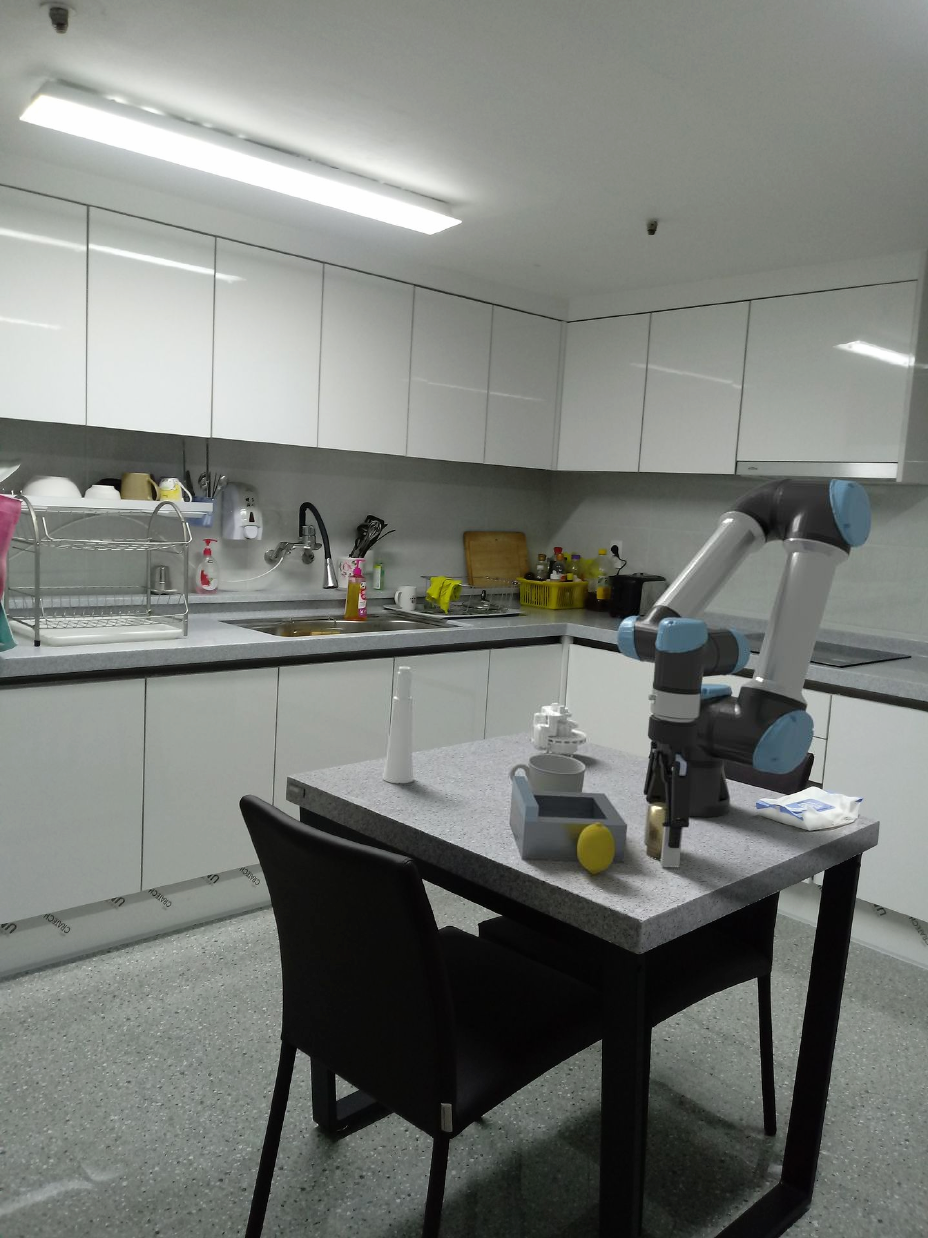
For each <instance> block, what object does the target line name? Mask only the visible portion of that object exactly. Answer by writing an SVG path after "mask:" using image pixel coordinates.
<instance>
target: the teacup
mask: <svg viewBox="0 0 928 1238" xmlns="http://www.w3.org/2000/svg"><path fill="white" fill-rule="evenodd" d="M586 768H587V767H586V764H584V763H583V762H582V761H580V760H579V759H576V758H574V757H573V758H570V756H567V755H562V754H560V755H558V754H555V753H554V754H552V753H549V754H546V753H545V754H544V753H542V754H535V755H531V756H530V757H528V759H527V764H526V763H524V762H520V761H519V762H515V763H514V764H512V765H511V767H510V769H509V772H508V773H509V774H508V775H509V779H510V780H511V782H513V776H516V771H517V770H518V769H522V770H523V771H524V773H525V774H524V776H525V778H526V780H527V783H528V785H529V787H530V789H531V790H534V791H557V792H580V793H583V787H584V779H585V773H586Z"/></svg>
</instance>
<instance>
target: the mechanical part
mask: <svg viewBox="0 0 928 1238" xmlns="http://www.w3.org/2000/svg"><path fill="white" fill-rule="evenodd" d="M569 709H570V708H569V707H567V706H565V705H559V703H557V702H553V703H552V702H551V703H550V705H545V706H542V707H541V711H540V712H535V713H534V716H533V722H532V725H531V733H530V735H531V736H530V738H531V739H530V740H531V744H532V745H533V747H534V749H535V750H537V751H539V752H541V751H546V753H545V754H550V752H551V754H554V755H555V754H557V755H561V754H565V756H567V757H570V758H574V757H573V754H574V753H576V752H578V746H579V745H580V746H581V745H584V744H586V743H587V734H585V733H584V732H582V731H580V730H576V729H578V728H579V722H578V721H574V720H573V719H568V718H572V714H573V713H572V712H571V711H570V710H569Z"/></svg>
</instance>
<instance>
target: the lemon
mask: <svg viewBox="0 0 928 1238" xmlns="http://www.w3.org/2000/svg"><path fill="white" fill-rule="evenodd" d="M614 853H615V843H614V838H613V835H612V833H611V832H610V831H609V829H607V828H606V827H605V826H603V825H601V823H598V822H597V823H595V824H593V825H590V826H588V827H586V828H585V829H584V830H583V831H582V833H581V835H580V837H579V840H578V845H577V854H578V859H579V861H578V862H580V864H581V866H582V867H583V868H584V869H586V870H588V871H589V873H590V874H591V873H592V875H594V874H595V875H597V874H598V873H599V872H603V871H606V869H607V868H609V867H610V866H611V864H612V863H613V862H612V860H613V857H614Z"/></svg>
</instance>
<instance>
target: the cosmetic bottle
mask: <svg viewBox="0 0 928 1238" xmlns="http://www.w3.org/2000/svg"><path fill="white" fill-rule="evenodd" d="M398 670H399V671H398V672H397V673H396V688H395V690H396V691H395V696H393V701H392V708H391V716H390V717H391V718H390V727H389V737H388V744H387V745H388V746H387V752H386V758H385V759H386V760H385V764H384V770H383V774H382V780H384V781H385V782H387V783H392V784H399V783H400V784H401V783H402V784H409V783H412V782H413V781H414V778H415V777H414V770H413V769H414V768H413V697H411V694H412V693H411V690H412V689H411V688H412V672H411V667H409V666H399V667H398Z"/></svg>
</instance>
